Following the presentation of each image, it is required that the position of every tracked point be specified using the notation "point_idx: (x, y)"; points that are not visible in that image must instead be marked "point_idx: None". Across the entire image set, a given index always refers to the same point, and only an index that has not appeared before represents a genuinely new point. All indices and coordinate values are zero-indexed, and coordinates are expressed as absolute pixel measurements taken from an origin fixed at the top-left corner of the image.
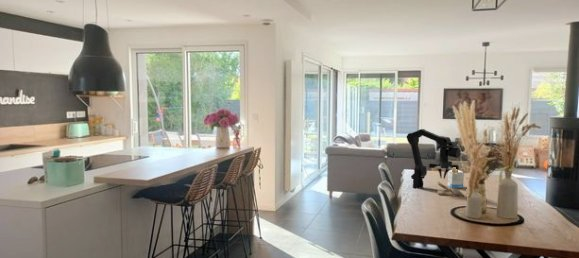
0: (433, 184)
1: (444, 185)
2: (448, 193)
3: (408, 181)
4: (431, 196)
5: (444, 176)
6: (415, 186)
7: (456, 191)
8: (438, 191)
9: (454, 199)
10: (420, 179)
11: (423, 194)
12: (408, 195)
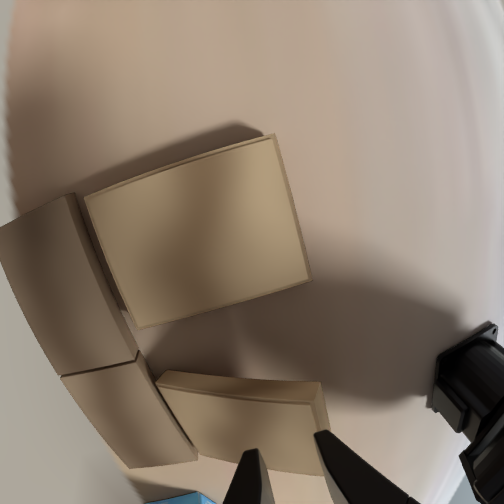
0: None
1: None
2: (138, 180)
3: None
4: (335, 28)
5: (249, 491)
6: (487, 343)
7: (96, 371)
8: (288, 214)
9: (67, 33)
10: (499, 400)
11: (424, 92)
12: (494, 21)
